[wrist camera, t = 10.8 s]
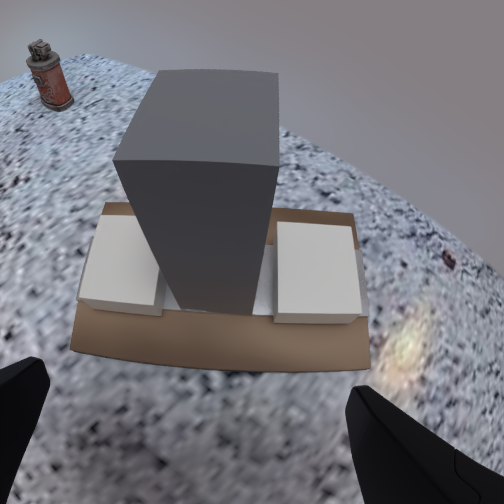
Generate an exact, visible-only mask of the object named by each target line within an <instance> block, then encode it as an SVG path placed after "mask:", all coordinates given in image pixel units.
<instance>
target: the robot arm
mask: <svg viewBox="0 0 504 504" xmlns="http://www.w3.org/2000/svg"><path fill="white" fill-rule="evenodd" d="M49 388H50V379H49V376H48V373H47V370H46V367H45V364H44V362H43V361H42V359H40V358H36V357H32V356H31V357H28V358H26V359H23V360H21V361H19V362H16V363H14V364H12V365H9V366H7V367H5V368H2V369H0V504H6V502H7V499H8V496H9V493H10V490H11V487H12V485H13V482H14V479H15V476H16V474H17V471H18V468H19V466H20V463H21V461H22V458H23V456H24V453H25V451H26V448H27V446H28V444H29V441H30V439H31V437H32V434H33V432H34V430H35V427H36V425H37V422H38V419H39V416H40V413H41V410H42V407H43V404H44V402H45V399H46V396H47V393H48V390H49ZM345 415H346V421H347V428H348V434H349V440H350V447H351V454H352V459H353V463H354V467H355V470H356V474H357V478H358V481H359V485H360V489H361V492H362V496H363V500H364V503H365V504H504V476H502V475H500V474H498V473H496V472H494V471H492V470H490V469H488V468H486V467H484V466H483V465H481V464H479V463H477V462H476V461H474V460H473V459H471V458H470V457H468V456H466V455H465V454H463V453H462V452H460V451H459V450H457V449H455V448H454V447H453V446H451V445H450V444H449V443H447V442H446V441H444V440H443V439H441V438H440V437H438V436H437V435H436V434H434V433H433V432H431V431H430V430H429V429H427V428H426V427H424V426H423V425H421V424H420V423H419V422H417V421H416V420H414V419H413V418H412V417H410V416H409V415H407V414H406V413H405V412H403V411H402V410H401V409H399V408H398V407H396V406H395V405H394V404H392V403H391V402H390V401H388V400H387V399H385V398H384V397H383V396H381V395H380V394H379V393H377V392H376V391H375V390H373V389H372V388H371V387H369V386H367V385H362V386H354V387H353V388H352V390H351V393H350V396H349V399H348V402H347V405H346V409H345Z"/></svg>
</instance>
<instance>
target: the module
mask: <svg viewBox="0 0 504 504" xmlns="http://www.w3.org/2000/svg"><path fill="white" fill-rule="evenodd" d="M278 91H279V90H278V73H270V72H257V71H242V70H210V69H208V70H207V69H206V70H204V69H200V70H199V69H198V70H197V69H195V70H194V69H193V70H164V71H163V70H162V71H159V72H158V74H157V75H156V77H155V79H154V80H153V82H152V84H151V85H150V87H149V89H148V91H147V92H146V94H145V96H144V98H143V100H142V101H141V103H140V105H139V107H138V109H137V111H136V113H135V115H134V117H133V118H132V120H131V122H130V124H129V126H128V128H127V130H126V132H125V134H124V136H123V139H122V141H121V143H120V145H119V147H118V149H117V151H116V153H115V156H114V158H113V160H112V161H113V163H114V166H115V168H116V171H117V173H118V176H119V178H120V181H121V183H122V186H123V188H124V190H125V193H126V195H127V198H128V200H129V202H130V205H131V207H132V209H133V211H134V214H135V216H136V218H137V221H138V223H139V225H140V227H141V229H142V232H143V234H144V236H145V238H146V240H147V243H148V245H149V247H150V249H151V251H152V253H153V255H154V257H155V260H156V262H157V264H158V266H159V268H160V270H161V272H162V274H163V276H164V278H165V280H166V282H167V284H168V286H169V288H170V290H171V292H172V294H173V296H174V298H175V300H176V302H177V303H178V305H179V307H180V309H182V310H192V311H203V312H215V313H227V314H240V315H252V313H253V308H254V303H255V297H256V292H257V287H258V281H259V276H260V271H261V265H262V260H263V255H264V249H265V244H266V238H267V233H268V227H269V222H270V216H271V211H272V205H273V200H274V194H275V188H276V183H277V177H278V172H279V92H278Z"/></svg>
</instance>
